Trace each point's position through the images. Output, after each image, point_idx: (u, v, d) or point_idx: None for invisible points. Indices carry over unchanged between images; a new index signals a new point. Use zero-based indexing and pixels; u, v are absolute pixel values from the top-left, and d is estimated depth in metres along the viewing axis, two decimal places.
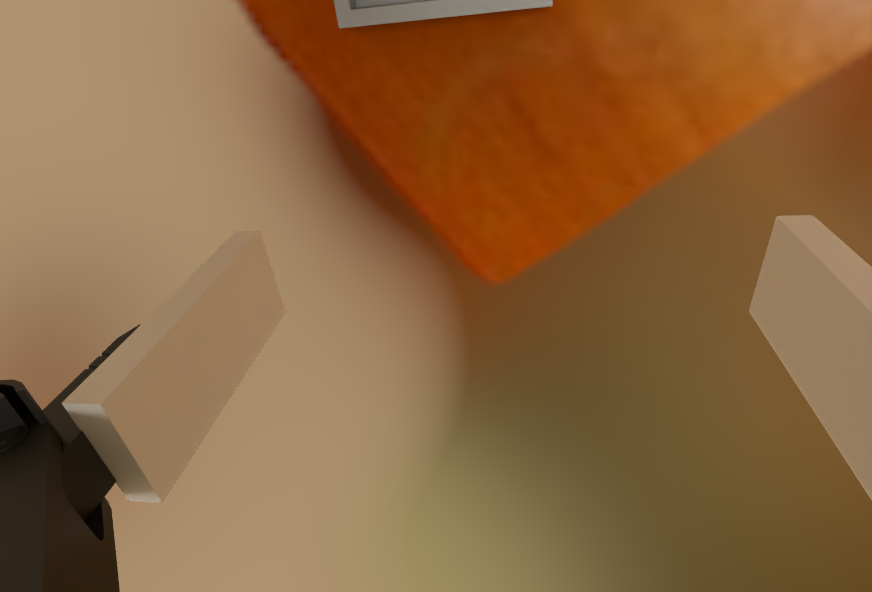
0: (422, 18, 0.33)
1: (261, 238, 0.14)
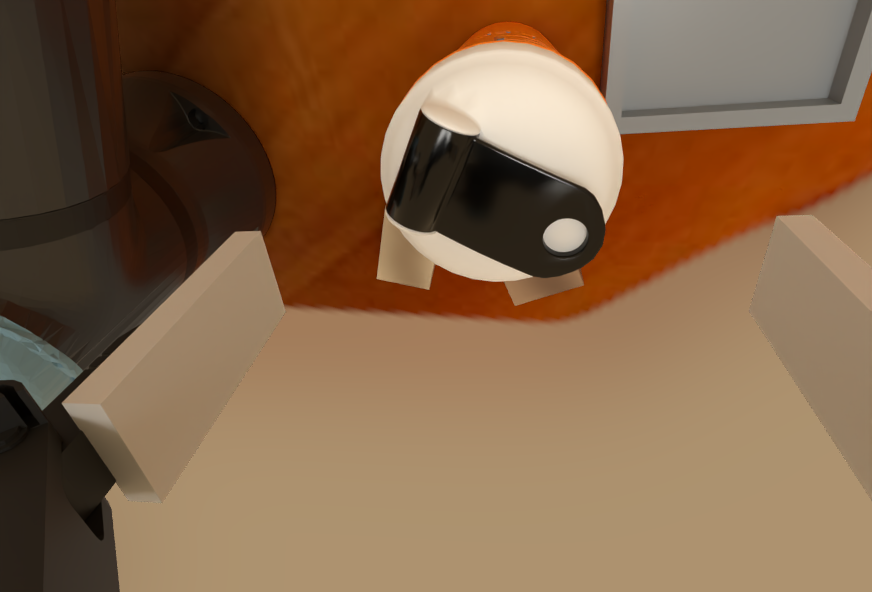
0: None
1: (261, 238, 0.14)
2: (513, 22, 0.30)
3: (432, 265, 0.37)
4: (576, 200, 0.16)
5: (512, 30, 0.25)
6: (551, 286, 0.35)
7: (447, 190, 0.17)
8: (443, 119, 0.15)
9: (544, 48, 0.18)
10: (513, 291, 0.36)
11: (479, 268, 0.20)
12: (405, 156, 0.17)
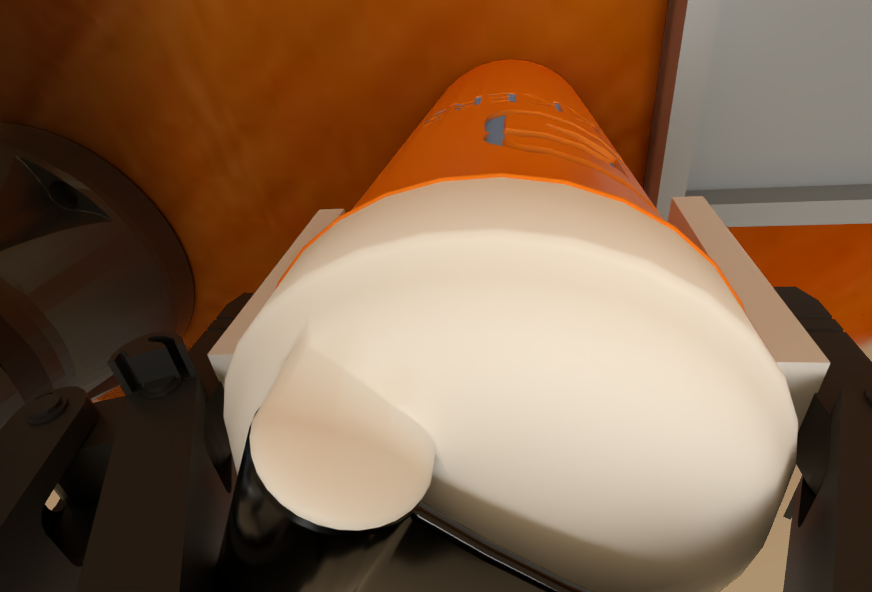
0: None
1: None
2: (519, 61, 0.20)
3: None
4: None
5: (519, 89, 0.14)
6: None
7: None
8: (305, 498, 0.05)
9: (603, 195, 0.07)
10: None
11: None
12: (229, 518, 0.06)
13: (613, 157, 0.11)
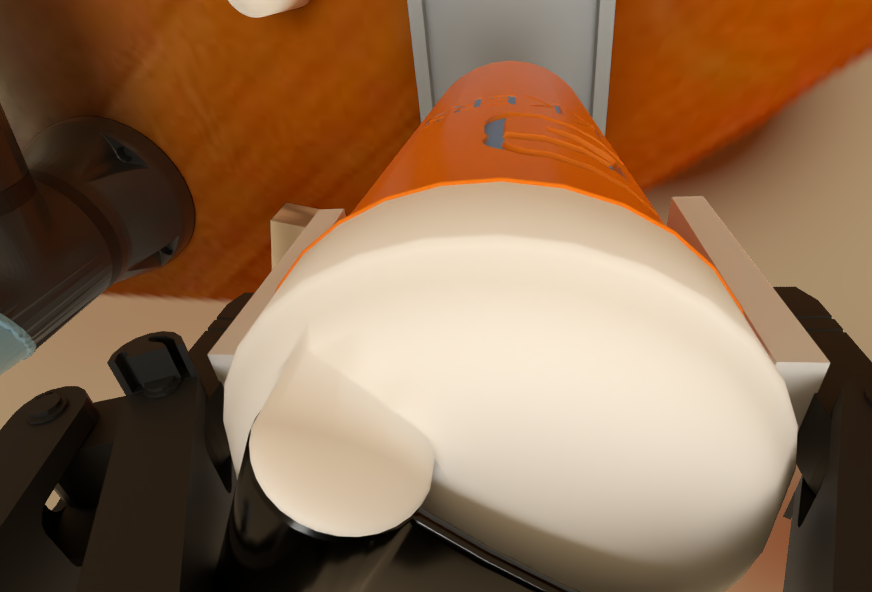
0: (608, 77, 0.37)
1: (344, 215, 0.15)
2: (519, 63, 0.20)
3: None
4: None
5: (519, 92, 0.14)
6: None
7: None
8: (306, 504, 0.05)
9: (603, 200, 0.07)
10: None
11: None
12: (229, 523, 0.06)
13: (613, 160, 0.11)
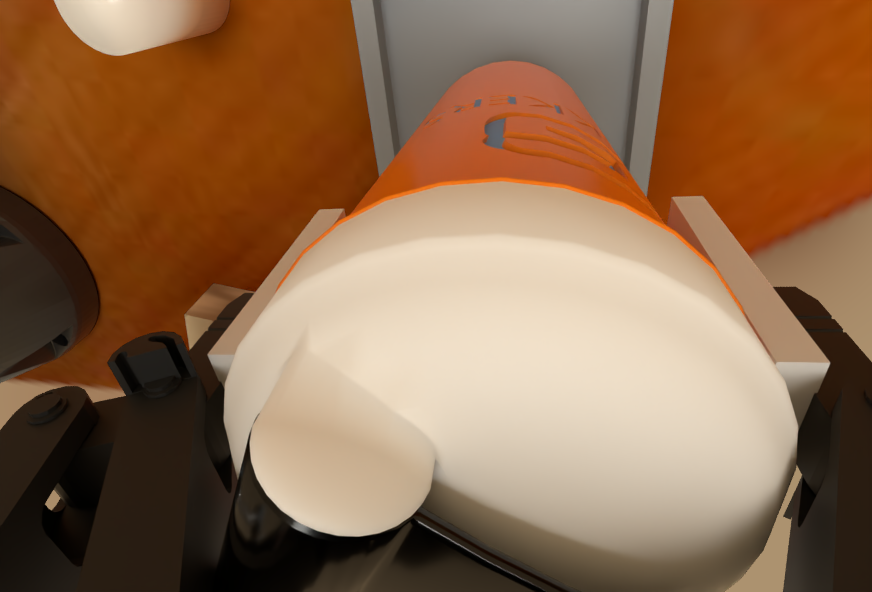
0: (653, 142, 0.25)
1: (344, 215, 0.15)
2: (519, 62, 0.20)
3: None
4: None
5: (519, 91, 0.14)
6: None
7: None
8: (305, 504, 0.05)
9: (603, 200, 0.07)
10: None
11: None
12: (229, 523, 0.06)
13: (613, 160, 0.11)
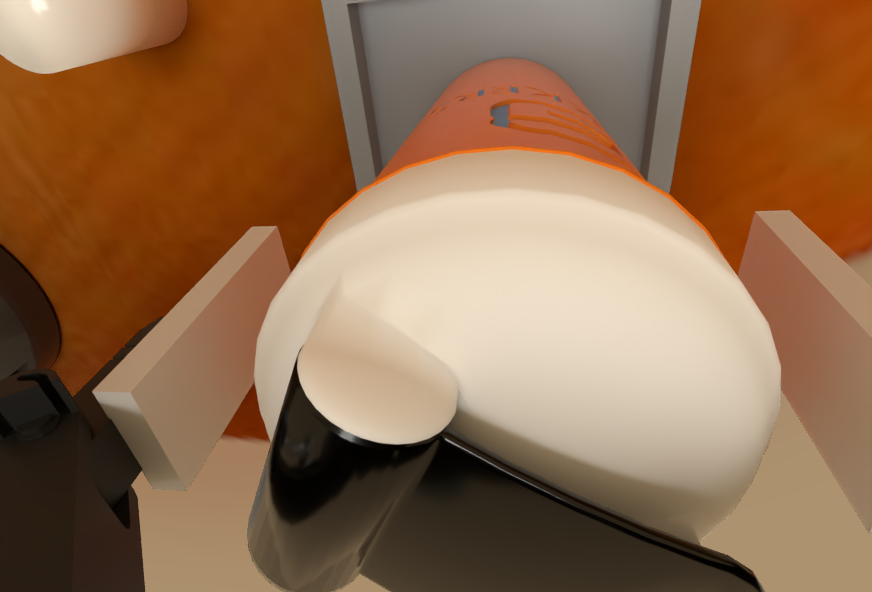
0: (672, 170, 0.22)
1: (277, 233, 0.14)
2: (517, 59, 0.21)
3: None
4: (706, 585, 0.06)
5: (519, 83, 0.15)
6: None
7: (378, 528, 0.07)
8: (351, 414, 0.05)
9: (604, 165, 0.08)
10: None
11: None
12: (272, 451, 0.07)
13: (610, 142, 0.12)
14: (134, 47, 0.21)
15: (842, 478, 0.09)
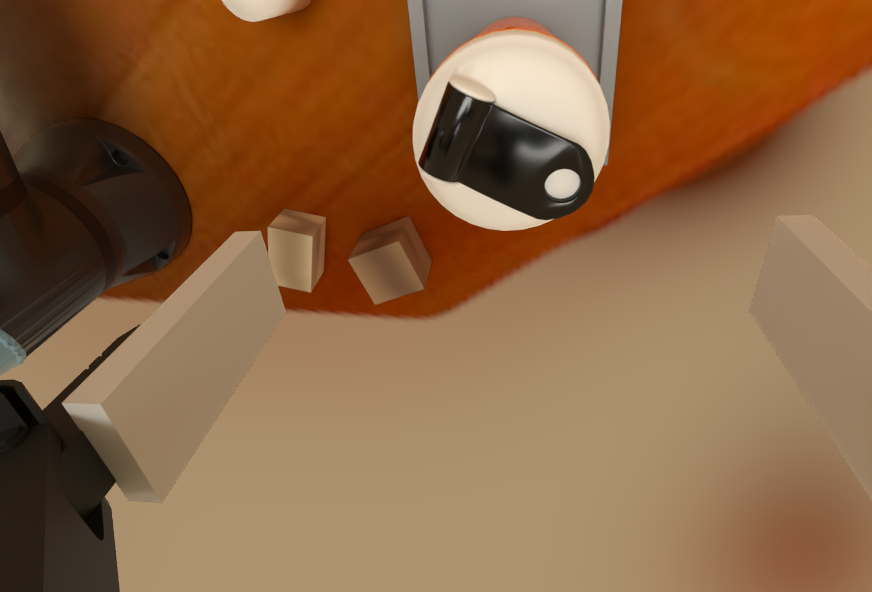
0: (613, 85, 0.36)
1: (261, 238, 0.14)
2: (520, 17, 0.35)
3: (310, 273, 0.46)
4: (571, 153, 0.20)
5: (519, 23, 0.29)
6: (400, 289, 0.45)
7: (469, 147, 0.21)
8: (467, 88, 0.20)
9: (546, 34, 0.22)
10: (371, 293, 0.45)
11: (492, 215, 0.24)
12: (436, 119, 0.21)
13: None
14: (290, 9, 0.35)
15: None
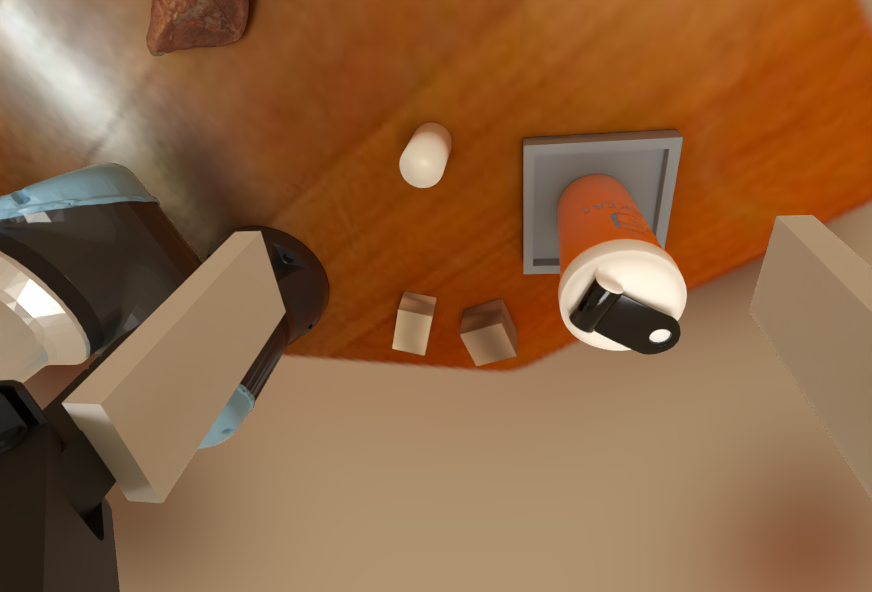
0: (668, 222, 0.50)
1: (261, 238, 0.14)
2: (602, 176, 0.49)
3: (426, 342, 0.61)
4: (667, 322, 0.35)
5: (613, 199, 0.44)
6: (497, 356, 0.59)
7: (605, 315, 0.35)
8: (610, 288, 0.34)
9: (648, 242, 0.36)
10: (475, 358, 0.60)
11: (609, 345, 0.38)
12: (585, 299, 0.35)
13: (646, 227, 0.41)
14: None
15: None
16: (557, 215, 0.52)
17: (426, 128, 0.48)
